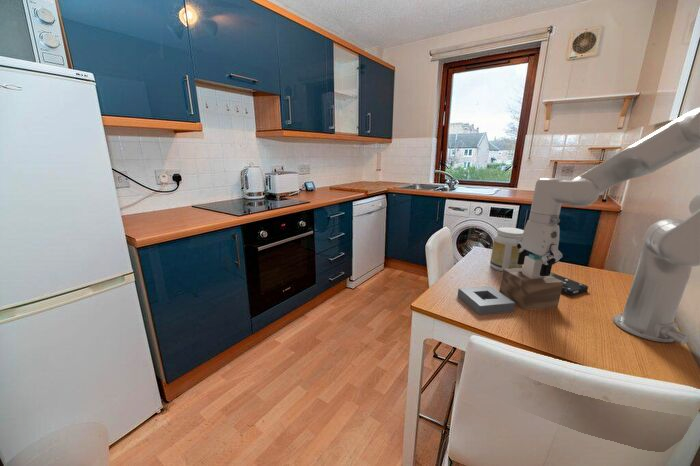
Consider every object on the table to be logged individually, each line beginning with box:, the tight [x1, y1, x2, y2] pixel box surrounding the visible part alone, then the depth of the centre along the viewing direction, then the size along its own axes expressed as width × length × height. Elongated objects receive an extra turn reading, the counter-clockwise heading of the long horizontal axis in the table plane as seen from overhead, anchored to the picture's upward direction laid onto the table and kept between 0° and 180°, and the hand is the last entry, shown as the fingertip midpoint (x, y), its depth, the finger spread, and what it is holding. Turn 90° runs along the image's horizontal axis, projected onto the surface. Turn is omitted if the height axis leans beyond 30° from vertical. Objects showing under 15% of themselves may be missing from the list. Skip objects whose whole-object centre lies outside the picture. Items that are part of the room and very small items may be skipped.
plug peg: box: [522, 253, 544, 279], centre depth 93 cm, size 4×4×11 cm
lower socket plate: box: [457, 285, 516, 316], centre depth 93 cm, size 12×12×3 cm
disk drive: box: [550, 272, 589, 297], centre depth 107 cm, size 10×3×15 cm
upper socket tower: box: [498, 267, 563, 311], centre depth 95 cm, size 12×12×9 cm
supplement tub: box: [489, 226, 524, 272], centre depth 121 cm, size 12×12×17 cm
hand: (532, 269), depth 93 cm, fingers open, 9 cm apart
